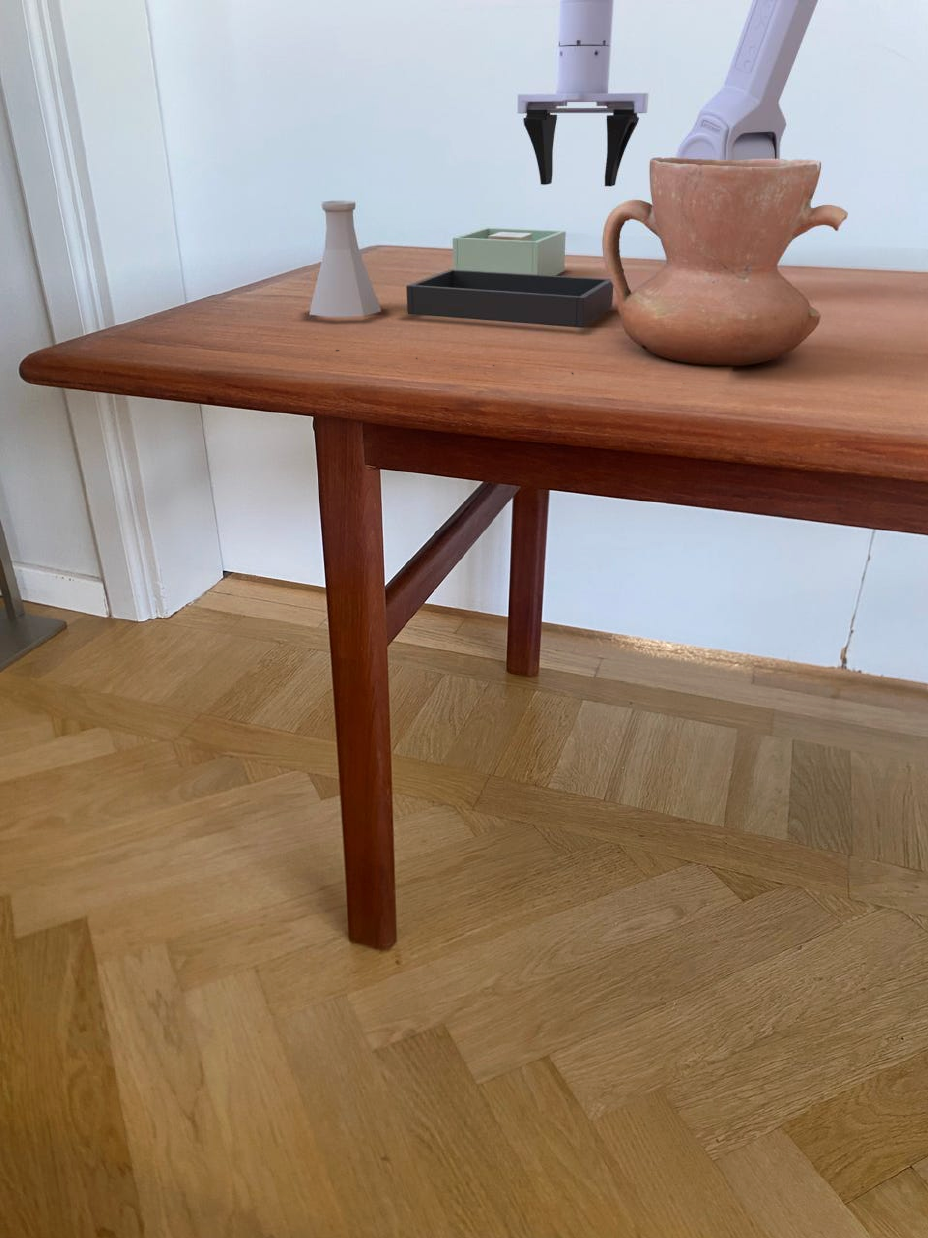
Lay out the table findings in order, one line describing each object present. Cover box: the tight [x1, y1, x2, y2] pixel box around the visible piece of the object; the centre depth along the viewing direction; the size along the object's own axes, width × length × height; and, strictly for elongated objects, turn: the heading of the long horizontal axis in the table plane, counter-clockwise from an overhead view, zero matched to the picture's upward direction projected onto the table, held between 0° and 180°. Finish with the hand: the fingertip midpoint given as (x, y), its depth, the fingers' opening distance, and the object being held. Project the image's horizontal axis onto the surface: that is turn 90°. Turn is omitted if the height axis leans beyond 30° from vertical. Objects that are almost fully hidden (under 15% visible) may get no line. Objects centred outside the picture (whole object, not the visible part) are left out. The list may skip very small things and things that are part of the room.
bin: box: [452, 227, 567, 276], centre depth 108 cm, size 10×10×4 cm
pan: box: [405, 268, 614, 329], centre depth 88 cm, size 17×10×3 cm, turn 67°
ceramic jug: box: [601, 156, 849, 367], centre depth 71 cm, size 18×14×14 cm
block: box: [488, 232, 532, 241], centre depth 108 cm, size 4×4×4 cm
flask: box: [309, 200, 382, 318], centre depth 87 cm, size 7×7×10 cm
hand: (577, 184), depth 107 cm, fingers open, 7 cm apart
